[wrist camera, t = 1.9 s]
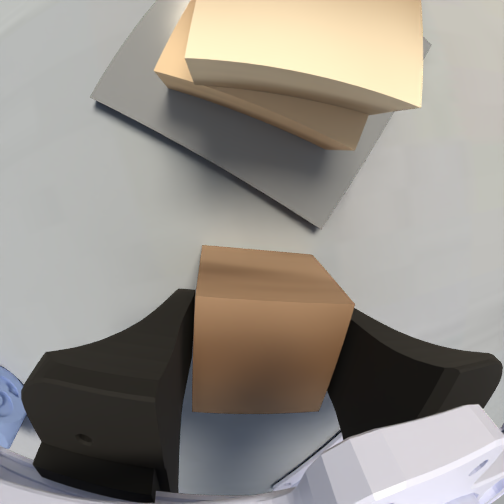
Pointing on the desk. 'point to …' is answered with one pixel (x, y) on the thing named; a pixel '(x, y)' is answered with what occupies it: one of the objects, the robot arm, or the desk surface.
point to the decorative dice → (10, 407)
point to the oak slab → (262, 99)
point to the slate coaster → (230, 126)
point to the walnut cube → (265, 331)
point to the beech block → (312, 50)
